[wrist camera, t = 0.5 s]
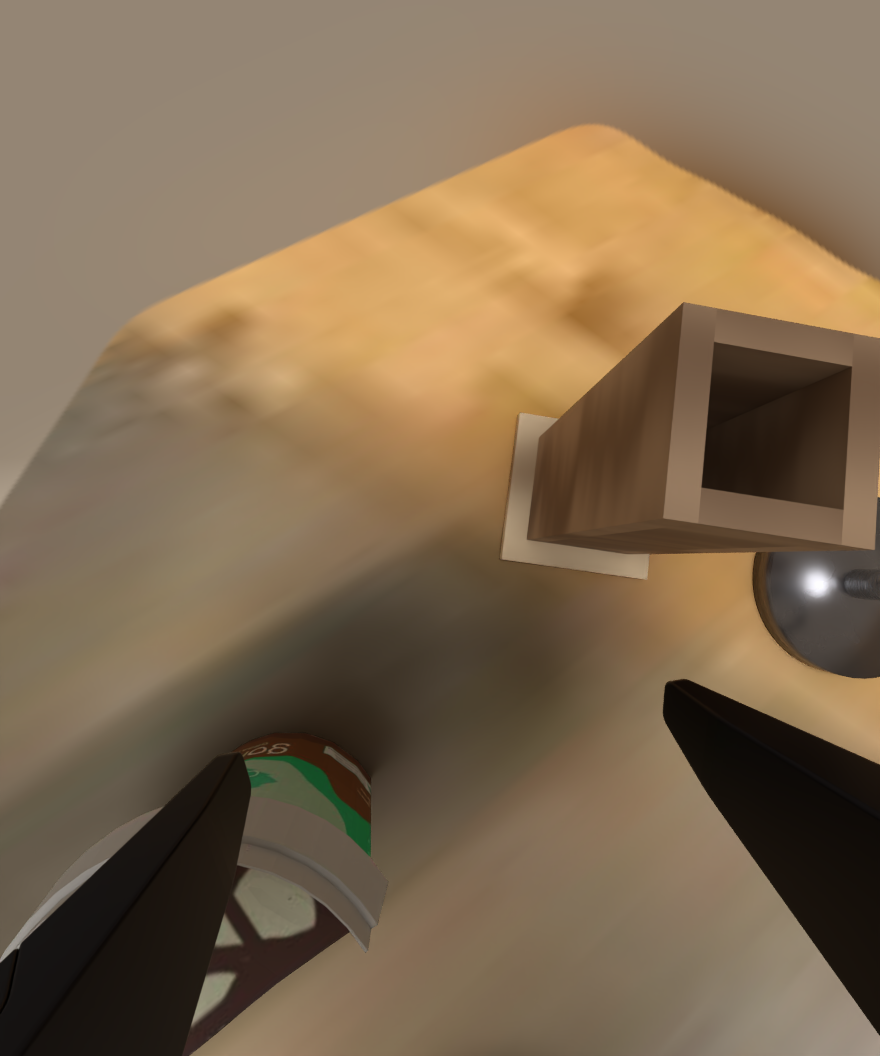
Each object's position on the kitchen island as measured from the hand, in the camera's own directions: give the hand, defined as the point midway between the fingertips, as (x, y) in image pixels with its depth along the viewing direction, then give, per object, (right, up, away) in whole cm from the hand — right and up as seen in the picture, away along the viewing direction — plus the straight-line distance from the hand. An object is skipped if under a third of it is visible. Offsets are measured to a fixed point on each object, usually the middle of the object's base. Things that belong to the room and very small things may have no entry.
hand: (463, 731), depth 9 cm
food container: (-10, -8, +12) cm, 18 cm away
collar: (+7, +6, +14) cm, 17 cm away
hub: (+22, +1, +15) cm, 27 cm away
